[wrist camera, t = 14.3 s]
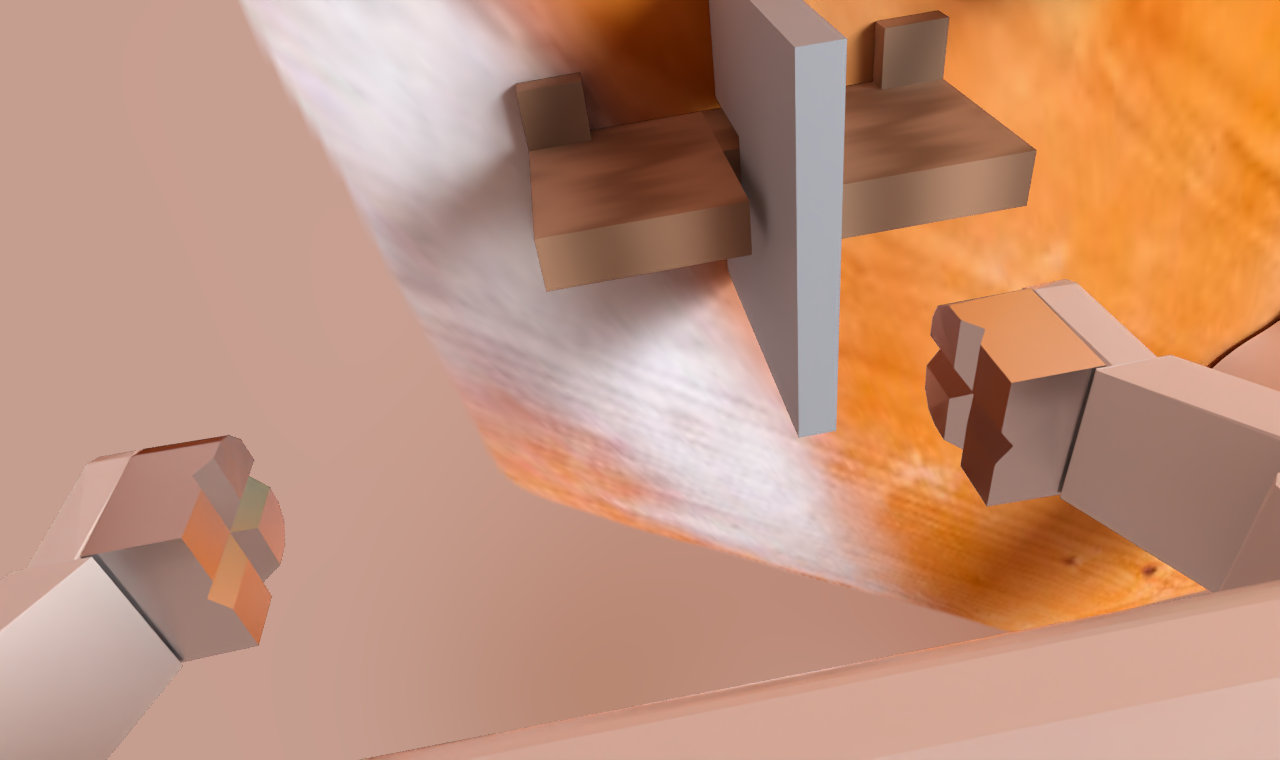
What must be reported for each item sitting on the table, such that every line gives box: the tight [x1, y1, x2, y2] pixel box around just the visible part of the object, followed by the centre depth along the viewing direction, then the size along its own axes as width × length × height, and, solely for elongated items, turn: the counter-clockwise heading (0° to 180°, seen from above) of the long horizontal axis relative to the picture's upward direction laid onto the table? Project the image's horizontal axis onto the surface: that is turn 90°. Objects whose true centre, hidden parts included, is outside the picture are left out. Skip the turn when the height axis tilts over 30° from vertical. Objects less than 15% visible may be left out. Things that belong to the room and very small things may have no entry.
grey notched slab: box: [709, 0, 847, 438], centre depth 35 cm, size 16×2×14 cm, turn 7°
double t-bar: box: [516, 11, 1037, 292], centre depth 37 cm, size 20×8×10 cm, turn 97°
